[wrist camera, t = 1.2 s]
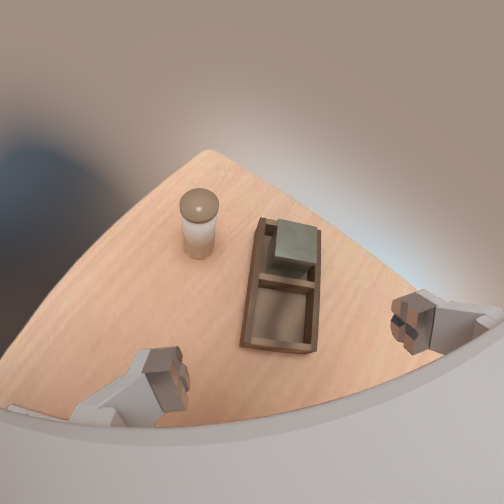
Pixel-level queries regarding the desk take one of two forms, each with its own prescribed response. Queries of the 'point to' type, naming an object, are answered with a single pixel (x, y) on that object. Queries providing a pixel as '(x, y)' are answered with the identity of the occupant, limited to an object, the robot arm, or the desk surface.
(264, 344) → the crate
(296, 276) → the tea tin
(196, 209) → the lidded white canister
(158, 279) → the desk surface
